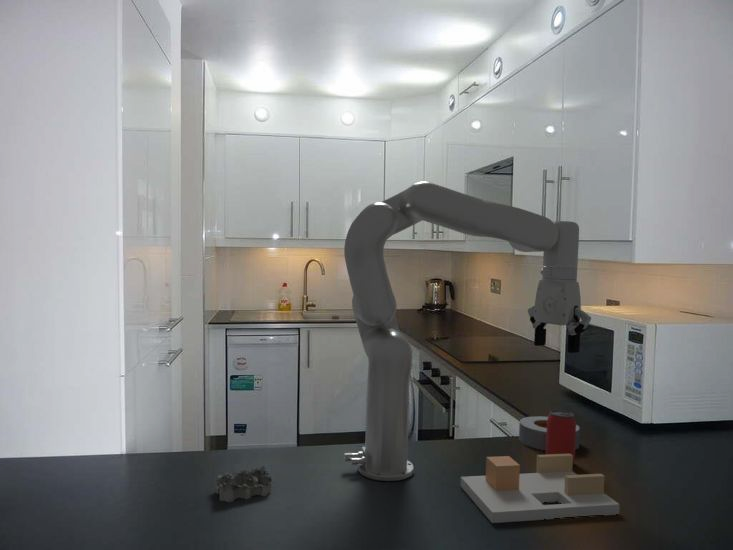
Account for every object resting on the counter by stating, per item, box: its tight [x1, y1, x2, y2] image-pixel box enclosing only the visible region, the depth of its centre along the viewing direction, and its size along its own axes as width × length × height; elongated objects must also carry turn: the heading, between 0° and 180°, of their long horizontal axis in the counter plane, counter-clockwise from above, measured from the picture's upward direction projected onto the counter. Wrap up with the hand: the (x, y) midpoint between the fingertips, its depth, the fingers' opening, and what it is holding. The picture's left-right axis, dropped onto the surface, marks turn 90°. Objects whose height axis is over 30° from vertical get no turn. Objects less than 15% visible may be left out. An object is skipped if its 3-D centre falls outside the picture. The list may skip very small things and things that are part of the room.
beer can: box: [545, 409, 577, 465], centre depth 129 cm, size 7×7×12 cm
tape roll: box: [518, 416, 581, 452], centre depth 144 cm, size 15×15×5 cm
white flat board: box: [460, 454, 620, 524], centre depth 109 cm, size 26×17×6 cm, turn 101°
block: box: [485, 455, 521, 491], centre depth 110 cm, size 5×5×5 cm
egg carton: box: [214, 465, 274, 503], centre depth 108 cm, size 11×8×4 cm
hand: (555, 348), depth 124 cm, fingers open, 9 cm apart
